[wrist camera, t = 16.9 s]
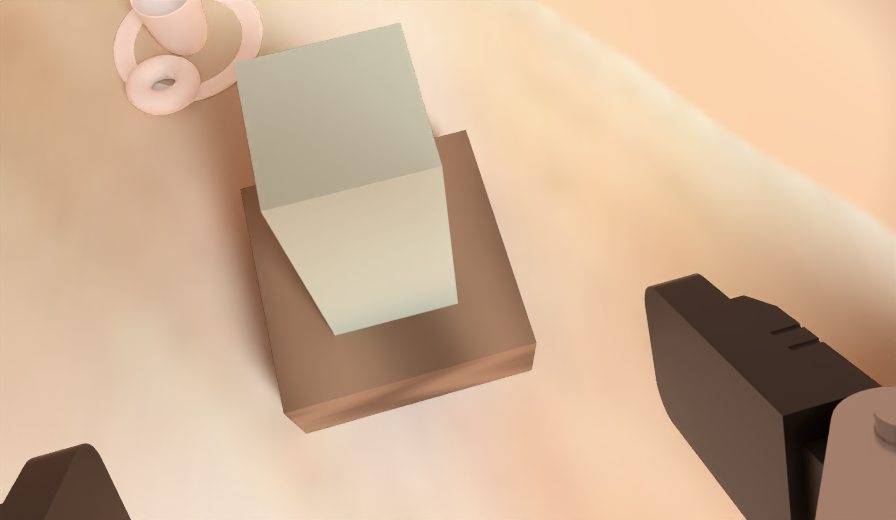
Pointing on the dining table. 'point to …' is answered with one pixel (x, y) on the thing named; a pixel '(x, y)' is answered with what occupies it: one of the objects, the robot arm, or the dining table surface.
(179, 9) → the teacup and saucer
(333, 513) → the dining table surface
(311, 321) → the walnut plinth
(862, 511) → the robot arm
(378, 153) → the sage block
